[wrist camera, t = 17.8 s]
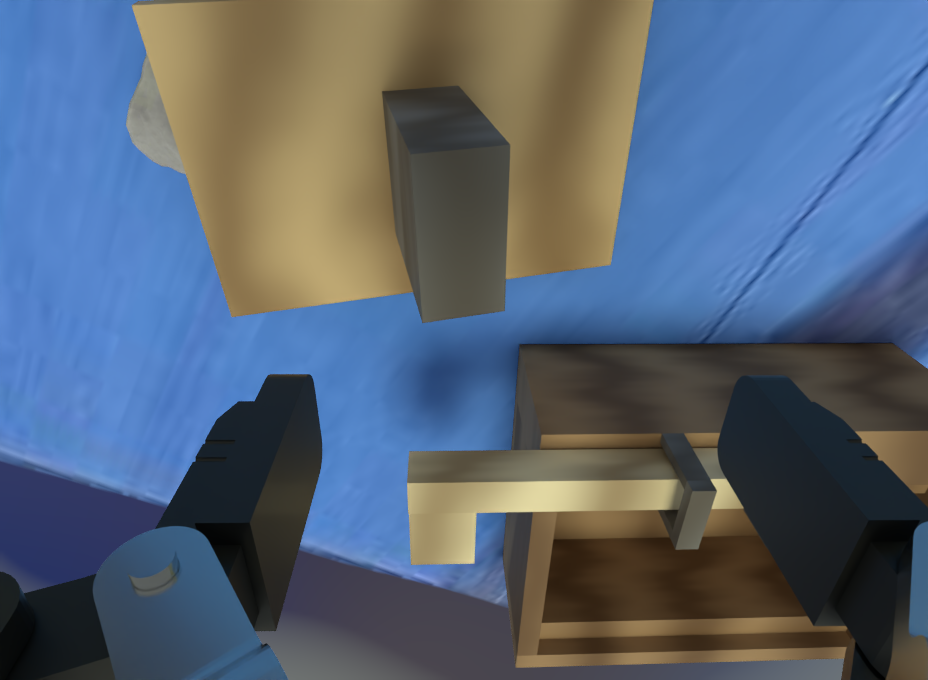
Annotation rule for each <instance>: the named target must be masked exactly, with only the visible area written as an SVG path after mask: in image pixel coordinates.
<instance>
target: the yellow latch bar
mask: <svg viewBox="0 0 928 680" xmlns="http://www.w3.org/2000/svg"><path fill="white" fill-rule="evenodd" d="M693 450H694V452H695V454H696V455H697V457H698V459H699V460H700V462H701V464H702V466H703V467H704V469H705V471H706V473H707V474H708V476H709V478H710V479H711V481H712V483H713V485H714V486H715V488H716V490H717V493H716V496H715V499H714V502H713V505H712V508H711V509H744V508H743V506H742V504H741V503H740V501H739V499H738V498H737V496H736V494H735V493H734V491H733V489H732V487H731V486H730V484H729V482H728V481H727V479H726V477H725V476H724V474H723V472H722V470H721V467H720V464H719V460H718V452H717V448H693ZM407 490H408V514H409V523H410V548H411V565H421V564H471V563H474V557H475V534H476V513H496V512H558V511H621V510H679V507H680V503H681V500H682V496H683V493H684V488H683V486H682V484H681V482H680V480H679V478H678V476H677V474H676V472H675V470H674V468H673V466H672V465H671V463H670V461H669V459H668V457H667V455H666V453H665V451H664V449H581V450H492V451H409V463H408V479H407Z"/></svg>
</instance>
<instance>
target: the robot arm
mask: <svg viewBox="0 0 928 680" xmlns="http://www.w3.org/2000/svg"><path fill="white" fill-rule="evenodd" d="M717 452H718V460H719V464H720V467H721V470H722V472H723V474H724V476H725V477H726V479H727V481H728V482H729V484H730V486H731V487H732V489H733V491H734V493H735V494H736V496H737V498H738V499H739V501H740V503H741V504H742V506H743V508H744V509H745V511H746V513H747V515H748V516H749V518H750V520H751V521H752V523H753V525H754V526H755V528H756V530H757V531H758V533H759V535H760V536H761V538H762V540H763V542H764V543H765V545H766V547H767V548H768V550H769V552H770V553H771V555H772V557H773V558H774V560H775V562H776V563H777V565H778V567H779V569H780V570H781V572H782V574H783V575H784V577H785V579H786V580H787V582H788V584H789V585H790V587H791V589H792V590H793V592H794V594H795V596H796V597H797V599H798V601H799V602H800V604H801V606H802V607H803V609H804V611H805V612H806V614H807V616H808V617H809V619H810V621H811V623H812V624H813V626H846V627H847V628H848V630H849V632H850V633H851V635H852V636H853V637H852V639H851V641H850V643H849V644H848V646H847V648H846V652H845V658H844V664H843V672H842V678H841V680H928V507H927V506H926V505H925V504H924V503H923V502H922V501H921V500H920V499H919V498H918V497H917V496H916V495H915V494H914V493H913V492H912V491H911V490H910V489H909V487H908V486H907V485H906V484H905V483H904V482H903V481H902V480H901V479H900V478H899V477H898V476H897V475H896V474H895V473H894V472H893V471H892V470H891V469H890V468H889V467H888V466H887V465H886V464H885V463H884V462H883V460H878V455H877V454H876V453H875V452H874V451H873V450H872V449H871V448H870V447H869V446H868V445H867V444H866V443H862V439H861V438H860V437H859V436H858V434H857V433H856V432H855V431H854V430H853V429H852V428H851V427H850V426H849V425H848V424H847V423H846V422H845V421H844V420H843V419H842V418H840V417H839V416H837V415H835V414H834V413H832V412H831V411H829V410H827V409H826V408H824V407H823V406H821V405H819V404H818V403H816V402H811V401H810V400H809V399H808V398H807V396H806V395H805V394H804V393H803V392H802V391H801V390H800V389H799V388H798V387H797V386H796V385H795V383H794V382H793V381H792V380H791V379H790V378H788V377H787V376H783V375H746V376H741V377H740V378H739V379H738V380H737V382H736V384H735V386H734V389H733V393H732V396H731V399H730V403H729V406H728V409H727V413H726V416H725V419H724V422H723V426H722V429H721V432H720V436H719V439H718V447H717ZM321 462H322V437H321V430H320V423H319V416H318V409H317V401H316V394H315V387H314V382H313V378H312V376H311V375H309V374H270V375H268V376H267V378H266V379H265V381H264V383H263V385H262V387H261V389H260V392H259V394H258V396H257V398H256V400H255V401H239V402H237V403H236V404H235V405H234V406H233V407H231V408H230V409H229V410H228V411H226V412H225V413H224V414H223V415H222V416H220V417H219V418H218V419H217V420H216V422H215V424H214V426H213V427H212V429H211V431H210V433H209V434H208V436H207V438H206V440H205V444H203V445H202V447H201V449H200V450H199V452H198V454H197V456H196V461H195V462H193V463H192V465H191V466H190V468H189V470H188V472H187V473H186V475H185V477H184V479H183V481H182V482H181V484H180V486H179V488H178V489H177V491H176V493H175V495H174V496H173V498H172V500H171V502H170V504H169V505H168V507H167V509H166V511H165V512H164V514H163V516H162V518H161V520H160V521H159V523H158V525H157V527H156V528H155V529H154V530H151V531H148V532H146V533H143V534H140V535H139V536H137V537H135V538H133V539H131V540H129V541H128V542H126V543H125V544H123V545H122V546H120V547H119V548H118V549H117V550H115V551H114V552H113V553H112V554H111V555H110V556H109V557H108V558H107V559H106V561H105V562H104V563H103V564H102V566H101V567H100V569H99V571H98V572H97V574H94V575H91V576H88V577H85V578H81V579H77V580H74V581H70V582H66V583H62V584H58V585H54V586H51V587H47V588H43V589H39V590H36V591H32V592H28V593H23V592H22V590H21V588H20V586H19V585H18V583H17V581H16V580H15V579H14V578H13V577H12V576H11V575H9V574H6V573H4V572H0V680H288V678H287V676H286V674H285V672H284V670H283V669H282V667H281V665H280V663H279V661H278V659H277V657H276V656H275V654H274V652H273V651H272V649H271V648H270V646H269V645H268V644H264V645H262V643H261V642H260V640H259V638H258V636H257V634H256V632H255V631H276V629H277V625H278V621H279V618H280V615H281V611H282V607H283V603H284V600H285V597H286V593H287V589H288V586H289V582H290V578H291V575H292V571H293V567H294V564H295V560H296V557H297V553H298V550H299V546H300V542H301V539H302V535H303V532H304V528H305V524H306V521H307V517H308V514H309V510H310V506H311V503H312V499H313V496H314V492H315V488H316V485H317V481H318V477H319V474H320V469H321Z"/></svg>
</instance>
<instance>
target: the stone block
mask: <svg viewBox="0 0 928 680" xmlns="http://www.w3.org/2000/svg"><path fill="white" fill-rule="evenodd" d="M126 126H127V129H128V131H129V134H130V137H131V139H132V142H133V143H134V145H135V146H136V147H137V148H138V149H139V150H140V151H142V152H143V153H144V154H145V155H146V156H147V157H148V158H150V159H151V160H152V161H153V162H155V163H157V164H159V165H161V166H166V167H170V168H173V169H174V170H176V171H178V172H180V173H184V174H186V173H185V170H184V166H183V163H182V160H181V157H180V154H179V151H178V148H177V145H176V142H175V138H174V135H173V132H172V129H171V126H170V123H169V120H168V117H167V114H166V110H165V107H164V104H163V101H162V98H161V95H160V92H159V89H158V86H157V82H156V79H155V76H154V73H153V70H152V67H151V64H150V61H149V58H148V54H146V57H145V60H144V63H143V68H142V75H141V78H140V81H139V83H138V85H137V87H136V90H135V92H134V94H133V97H132V99H131V101H130V104H129V109H128V115H127V121H126Z"/></svg>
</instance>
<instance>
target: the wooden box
mask: <svg viewBox="0 0 928 680" xmlns="http://www.w3.org/2000/svg"><path fill="white" fill-rule="evenodd" d="M746 375H783V376H787V377H788V378H790V379H791V380H792V381H793V382H794V383H795V385H796V386H797V387H798V388H799V389H800V390H801V391H802V392H803V393H804V394H805V395H806V396H807V398H808V399H809V400H810V401H811V402H816V403H818V404H819V405H821V406H823V407H824V408H826V409H827V410H829V411H831V412H832V413H834V414H835V415H837V416H839V417H840V418H842V419H843V420H844V421H845V422H846V423H847V424H848V425H849V426H850V427H851V428H852V429H853V430H854V431H855V432H856V433H857V434H858V436H859V437H860V438H861V439H862V443H866V444H867V445H868V446H869V447H870V448H871V449H872V450H873V451H874V452H875V453H876V454H877V455H878V460H883V462H884V463H885V464H886V465H887V466H888V467H889V468H890V469H891V470H892V471H893V472H894V473H895V474H896V475H897V476H898V477H899V478H900V479H901V480H902V481H903V482H904V483H905V484H906V485H907V486H908V487H909V489H910V490H911V491H912V492H913V493H914V494H915V495H916V496H917V497H918V498H919V499H920V500H921V501H922V502H923V503H924V504H925V505H926V506H927V507H928V369H927V368H926V367H924V366H923V365H922V364H920V363H919V362H918V361H916V360H915V359H913V358H912V357H911V356H909V355H908V354H907V353H905V352H904V351H903V350H901V349H900V348H898V347H897V346H896V345H894V344H893V343H830V344H520V346H519V359H518V372H517V384H516V397H515V410H514V422H513V435H512V448H511V450H581V449H664V451H665V453H666V455H667V457H668V459H669V461H670V463H671V465H672V466H673V468H674V470H675V472H676V474H677V476H678V478H679V480H680V482H681V484H682V486H683V488H684V493H683V496H682V500H681V503H680V507H679V510H621V511H558V512H506V524H505V537H504V549H503V564H504V572H505V581H506V589H507V598H508V606H509V615H510V623H511V632H512V639H513V649H514V656H515V665H516V667H517V668H518V667H553V666H588V665H622V664H623V665H625V664H661V663H695V662H732V661H768V660H803V659H838V658H845V652H846V648H847V646H848V644H849V643H850V641H851V639H852V637H853V636H852V635H851V633H850V632H849V630H848V628H847V627H846V626H813V624H812V623H811V621H810V619H809V617H808V616H807V614H806V612H805V611H804V609H803V607H802V606H801V604H800V602H799V601H798V599H797V597H796V596H795V594H794V592H793V590H792V589H791V587H790V585H789V584H788V582H787V580H786V579H785V577H784V575H783V574H782V572H781V570H780V569H779V567H778V565H777V563H776V562H775V560H774V558H773V557H772V555H771V553H770V552H769V550H768V548H767V547H766V545H765V543H764V542H763V540H762V538H761V536H760V535H759V533H758V531H757V530H756V528H755V526H754V525H753V523H752V521H751V520H750V518H749V516H748V515H747V513H746V511H745V509H711V508H712V505H713V502H714V499H715V496H716V493H717V490H716V488H715V486H714V485H713V483H712V481H711V479H710V478H709V476H708V474H707V473H706V471H705V469H704V467H703V466H702V464H701V462H700V460H699V459H698V457H697V455H696V454H695V452H694V450H693V448H717V447H718V439H719V436H720V432H721V429H722V426H723V422H724V419H725V416H726V413H727V409H728V406H729V403H730V399H731V396H732V393H733V389H734V386H735V384H736V382H737V380H738V379H739V378H740V377H741V376H746Z"/></svg>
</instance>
